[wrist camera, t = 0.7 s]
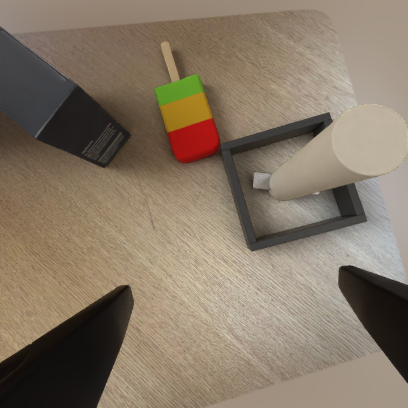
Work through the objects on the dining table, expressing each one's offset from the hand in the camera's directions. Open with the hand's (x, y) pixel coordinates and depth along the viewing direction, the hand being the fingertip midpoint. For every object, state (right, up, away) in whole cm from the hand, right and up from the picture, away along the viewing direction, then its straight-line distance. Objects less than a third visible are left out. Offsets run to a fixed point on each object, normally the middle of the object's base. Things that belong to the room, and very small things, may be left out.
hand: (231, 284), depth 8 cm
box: (-15, +13, +16) cm, 26 cm away
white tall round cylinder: (+8, +6, +14) cm, 17 cm away
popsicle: (-4, +16, +16) cm, 23 cm away
